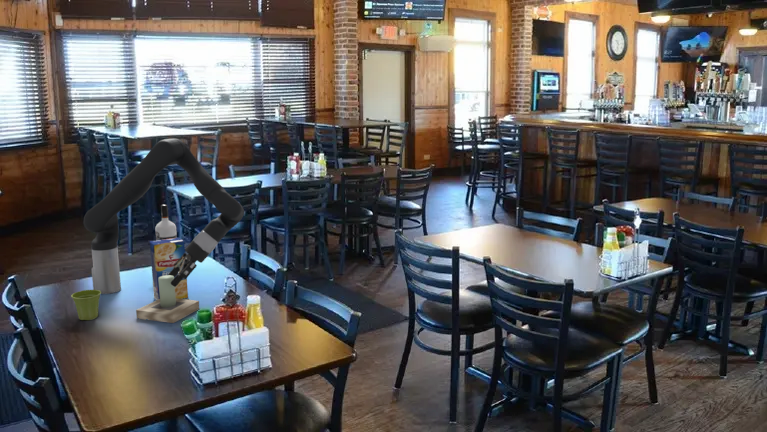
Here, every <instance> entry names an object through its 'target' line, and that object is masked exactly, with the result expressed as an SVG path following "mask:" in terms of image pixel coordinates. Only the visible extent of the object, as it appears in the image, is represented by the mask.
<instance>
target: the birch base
mask: <svg viewBox="0 0 767 432" xmlns="http://www.w3.org/2000/svg"><path fill="white" fill-rule="evenodd" d="M198 310H200V301H199V300H194V299H187V298H184V299H178V298H176V305H175V306H172V307H161V306H160V299H158V300H156V299H155V301H152V302H150V303H148V304H146V305H144V306H142V307H139V308H137V309H136V310H135V313H136V319H138V318H139V320H146V319H148V321H155V322H162V323H163V322H164V323H169V324H170V323H171V324H174V323H176V322H179V321H181V320H182V319H184V318H186V317H188V316H189V315H191V314H193V313H194V312H197V311H198Z"/></svg>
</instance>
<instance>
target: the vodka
mask: <svg viewBox="0 0 767 432" xmlns="http://www.w3.org/2000/svg"><path fill="white" fill-rule="evenodd" d="M168 209H169V207H168V205H167V204H161V205H160V210H161V211H160V212H161V213H160V214H161V221H159V222H158V223H156V226H155V229H154V230H155V237H156V240H163V239H171V238H177V233H178V232H177V226H176V224H175V223H174V222H173V221H171V220H169V210H168Z"/></svg>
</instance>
